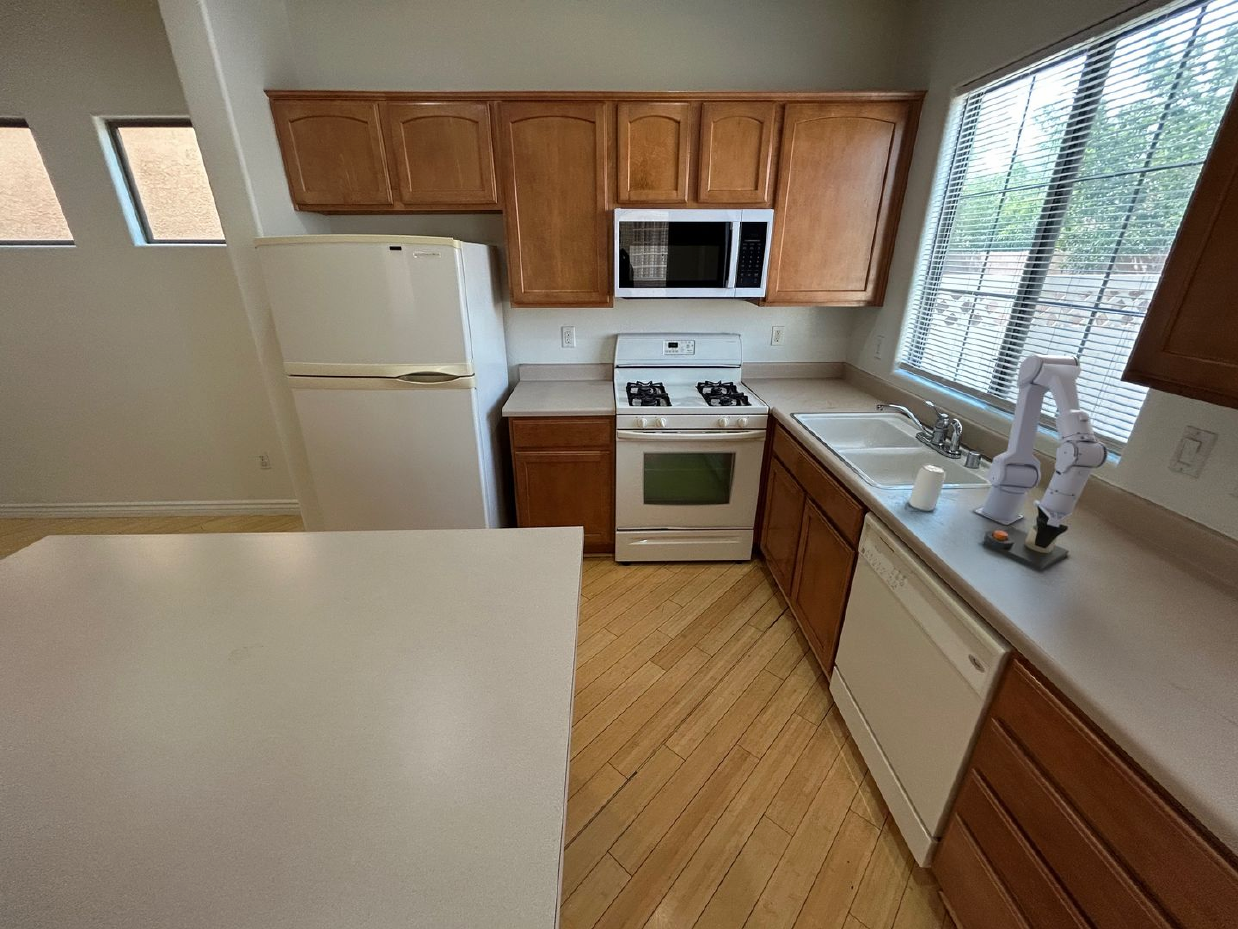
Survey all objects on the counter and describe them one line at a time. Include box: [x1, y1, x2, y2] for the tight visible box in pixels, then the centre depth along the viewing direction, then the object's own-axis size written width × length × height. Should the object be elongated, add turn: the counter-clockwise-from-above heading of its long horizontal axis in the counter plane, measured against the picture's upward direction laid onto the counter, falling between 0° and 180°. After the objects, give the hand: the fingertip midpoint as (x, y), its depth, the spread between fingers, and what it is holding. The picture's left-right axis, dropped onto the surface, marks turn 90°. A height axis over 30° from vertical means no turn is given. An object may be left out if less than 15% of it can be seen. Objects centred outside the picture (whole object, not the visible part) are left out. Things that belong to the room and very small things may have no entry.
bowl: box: [1024, 524, 1060, 553], centre depth 115 cm, size 5×5×4 cm
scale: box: [982, 526, 1069, 572], centre depth 116 cm, size 15×13×3 cm
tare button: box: [993, 529, 1008, 541], centre depth 116 cm, size 3×3×2 cm
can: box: [908, 463, 947, 512], centre depth 133 cm, size 6×6×12 cm
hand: (1040, 539), depth 115 cm, fingers open, 7 cm apart
